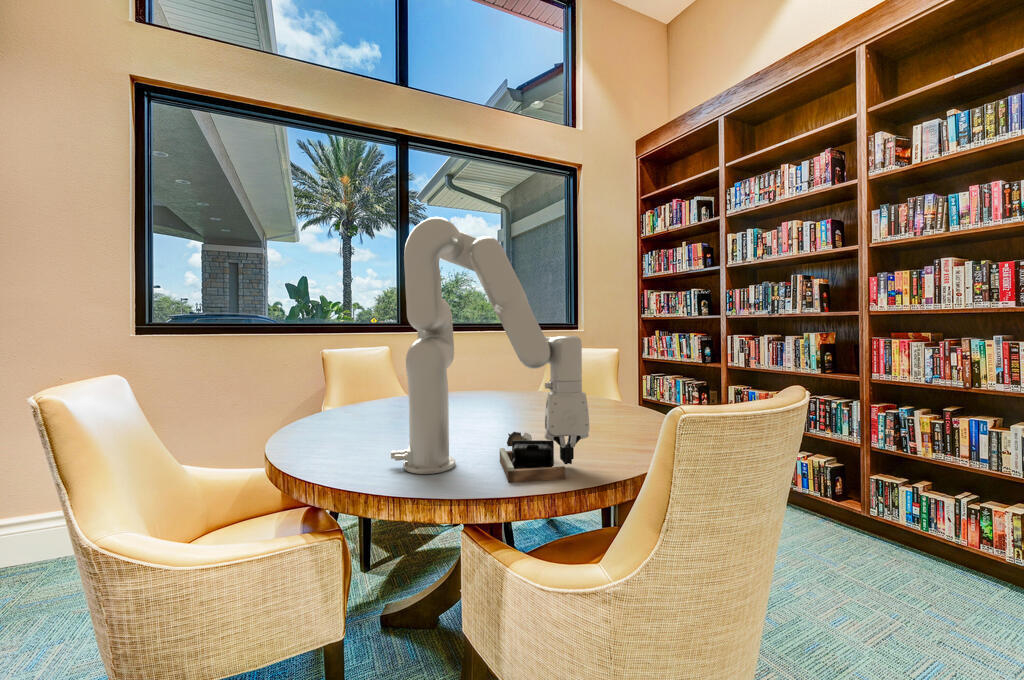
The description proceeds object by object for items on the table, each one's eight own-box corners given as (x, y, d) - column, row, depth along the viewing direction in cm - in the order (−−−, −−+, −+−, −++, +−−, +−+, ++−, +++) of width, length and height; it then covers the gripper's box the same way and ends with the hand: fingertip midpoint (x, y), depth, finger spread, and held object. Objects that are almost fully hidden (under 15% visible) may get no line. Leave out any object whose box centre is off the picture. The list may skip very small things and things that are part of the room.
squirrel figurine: (500, 446, 122) (500, 449, 113) (514, 424, 123) (515, 425, 114) (523, 461, 122) (525, 465, 113) (537, 439, 123) (540, 441, 114)
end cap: (553, 464, 109) (553, 437, 109) (554, 474, 102) (554, 445, 102) (512, 464, 110) (512, 437, 110) (511, 474, 103) (511, 445, 103)
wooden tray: (508, 482, 97) (508, 467, 97) (499, 461, 113) (499, 448, 112) (565, 479, 99) (565, 464, 99) (549, 458, 115) (549, 445, 114)
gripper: (539, 390, 102) (539, 469, 102) (601, 388, 104) (601, 465, 105) (532, 386, 109) (533, 459, 110) (590, 384, 111) (591, 456, 112)
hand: (566, 462), depth 107 cm, fingers closed
